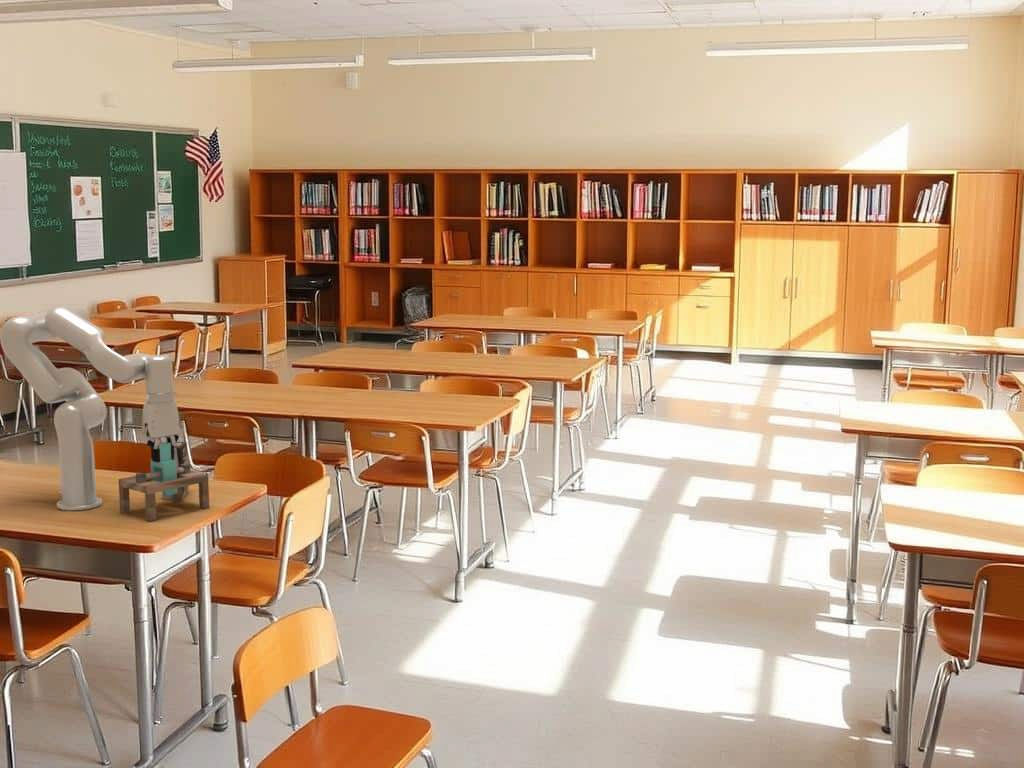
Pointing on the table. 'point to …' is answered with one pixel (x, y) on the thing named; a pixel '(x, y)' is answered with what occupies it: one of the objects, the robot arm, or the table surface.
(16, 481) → the table surface
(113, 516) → the table surface
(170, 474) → the teal stepped block
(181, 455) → the coffee box
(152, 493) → the wooden rack stand
